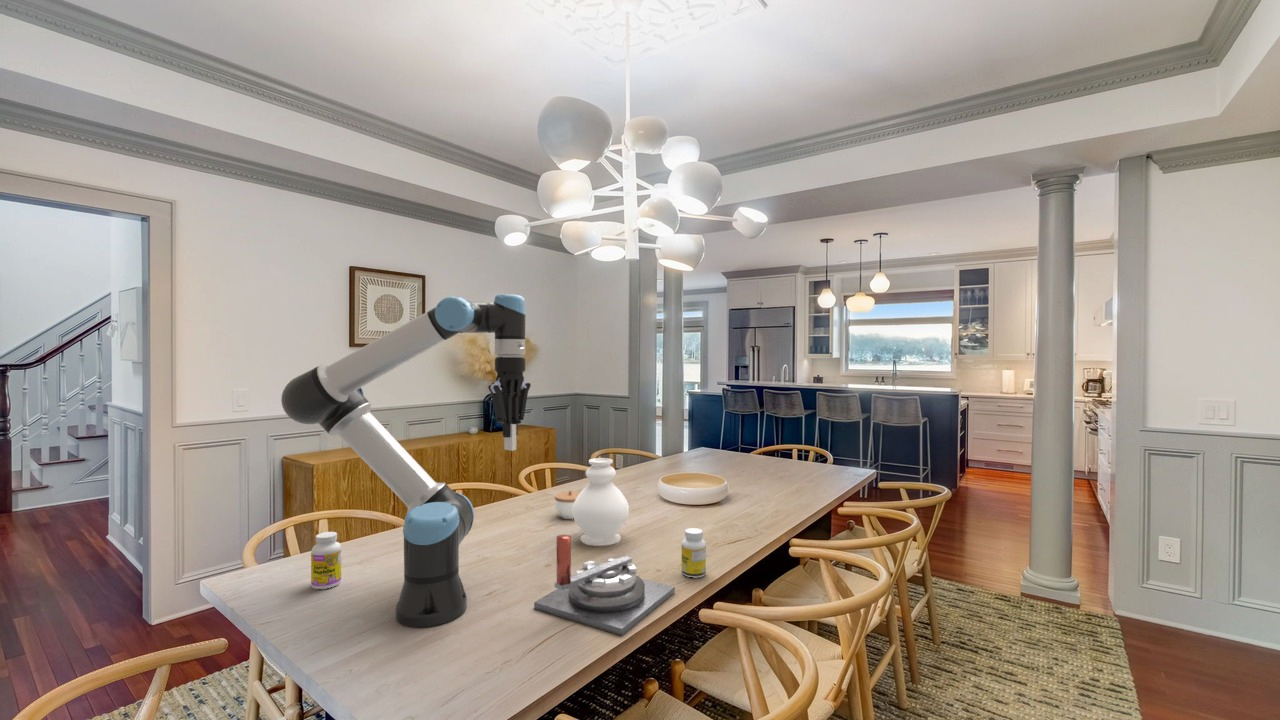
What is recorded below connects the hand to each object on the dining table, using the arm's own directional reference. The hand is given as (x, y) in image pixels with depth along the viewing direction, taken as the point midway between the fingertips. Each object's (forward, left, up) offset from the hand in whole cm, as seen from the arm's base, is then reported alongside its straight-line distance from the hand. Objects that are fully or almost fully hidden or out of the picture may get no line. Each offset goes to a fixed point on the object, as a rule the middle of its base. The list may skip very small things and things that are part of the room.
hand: (510, 449), depth 141 cm
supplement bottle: (-24, +40, -35) cm, 58 cm away
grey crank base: (+5, -26, -34) cm, 43 cm away
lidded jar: (+54, +23, -35) cm, 68 cm away
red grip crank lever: (+2, -25, -30) cm, 40 cm away
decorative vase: (+40, 0, -35) cm, 53 cm away
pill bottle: (+30, -37, -35) cm, 59 cm away
